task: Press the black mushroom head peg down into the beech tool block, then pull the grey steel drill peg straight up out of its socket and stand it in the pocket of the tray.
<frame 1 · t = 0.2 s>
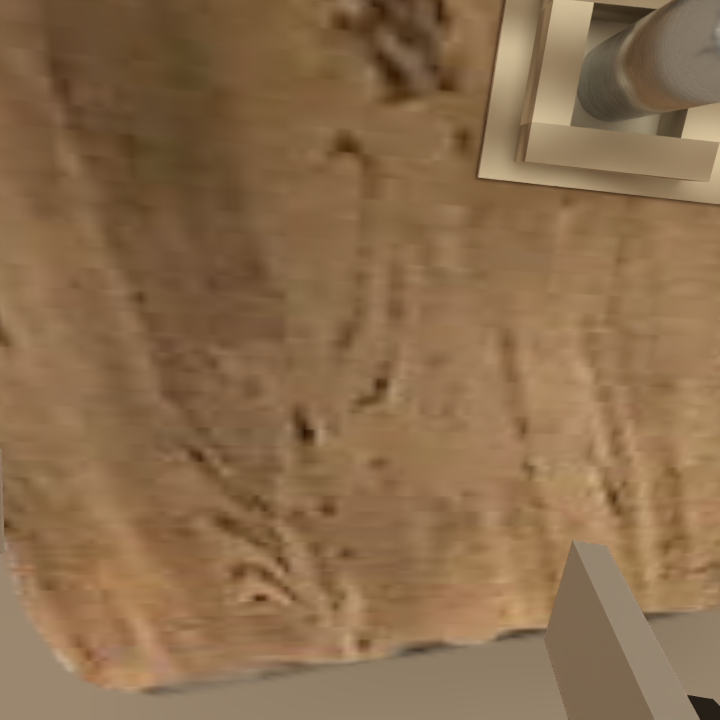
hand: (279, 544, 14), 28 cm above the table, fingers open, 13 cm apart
socket block: (670, 59, 36), on the table
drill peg: (616, 80, 35), point 1 cm above the table, touching socket block
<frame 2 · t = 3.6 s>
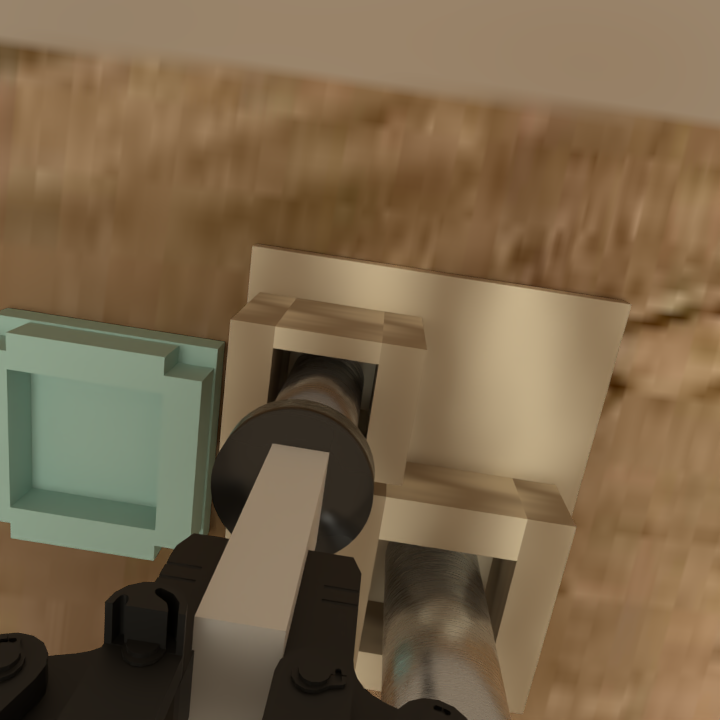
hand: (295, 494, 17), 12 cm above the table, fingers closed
socket block: (410, 491, 30), on the table
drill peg: (430, 558, 30), point 1 cm above the table, touching socket block
tray: (113, 425, 30), on the table
black mushroom head peg: (313, 424, 21), point 8 cm above the table, slide at 0.9 cm, touching gripper
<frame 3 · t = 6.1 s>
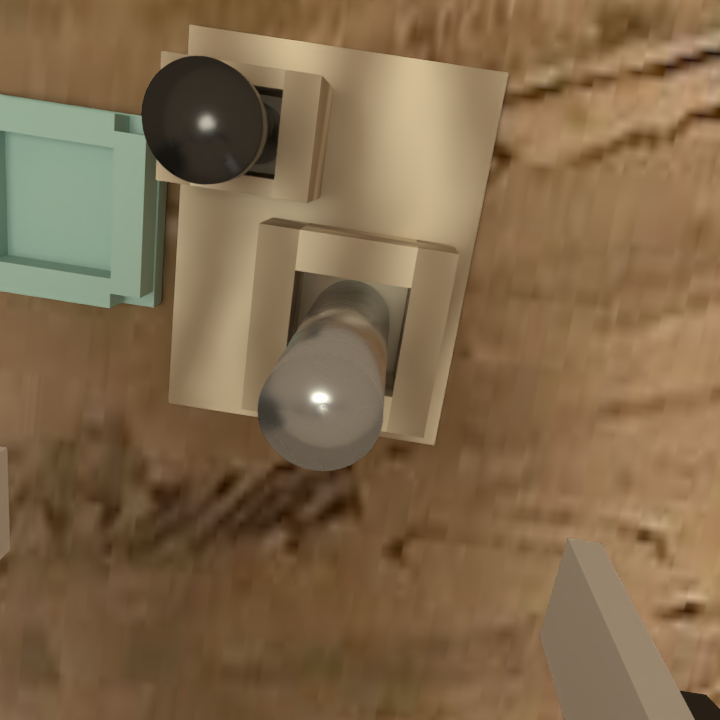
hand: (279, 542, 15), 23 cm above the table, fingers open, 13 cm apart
socket block: (332, 259, 35), on the table
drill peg: (350, 319, 35), point 1 cm above the table, touching socket block
tray: (77, 202, 35), on the table
black mushroom head peg: (232, 128, 27), point 6 cm above the table, slide at 2.0 cm
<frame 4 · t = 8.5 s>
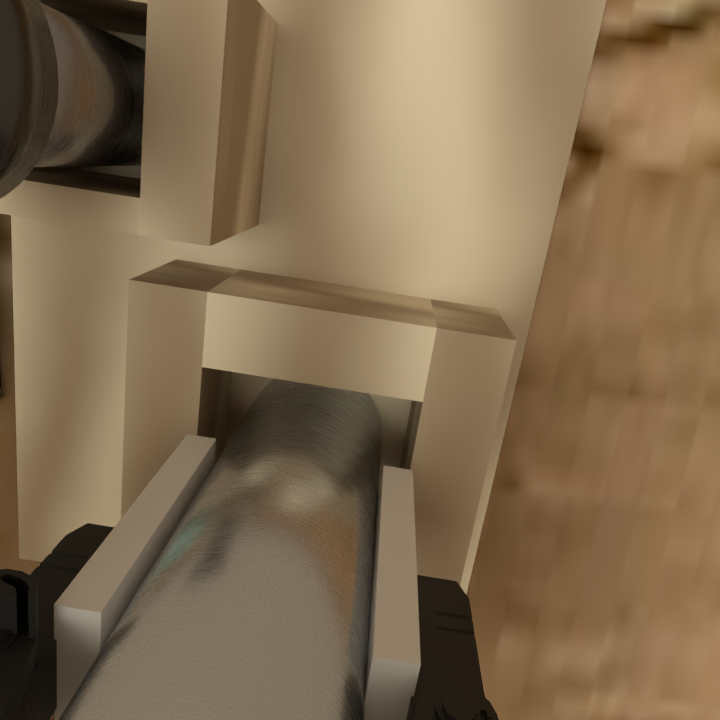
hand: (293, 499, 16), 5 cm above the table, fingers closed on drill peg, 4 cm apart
socket block: (284, 329, 20), on the table
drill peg: (314, 431, 21), point 1 cm above the table, touching gripper, socket block
black mushroom head peg: (38, 88, 13), point 6 cm above the table, slide at 2.0 cm
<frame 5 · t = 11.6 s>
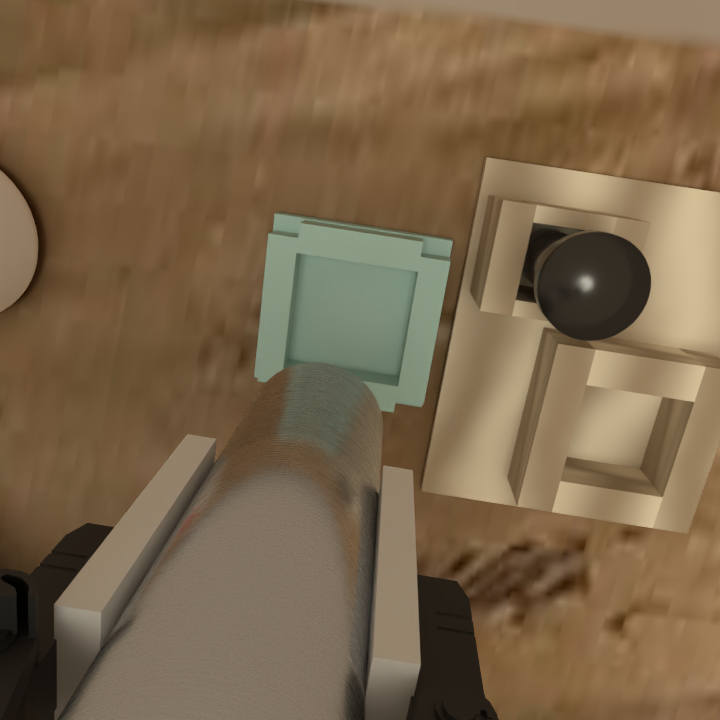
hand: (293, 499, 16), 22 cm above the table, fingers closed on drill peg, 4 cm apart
socket block: (589, 363, 38), on the table
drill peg: (316, 425, 21), point 18 cm above the table, touching gripper
tray: (352, 309, 38), on the table
black mushroom head peg: (566, 269, 30), point 6 cm above the table, slide at 2.0 cm
when the fingers open (7 cm above the table, at t = 14.6 s): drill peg stays where it is, resting on tray.
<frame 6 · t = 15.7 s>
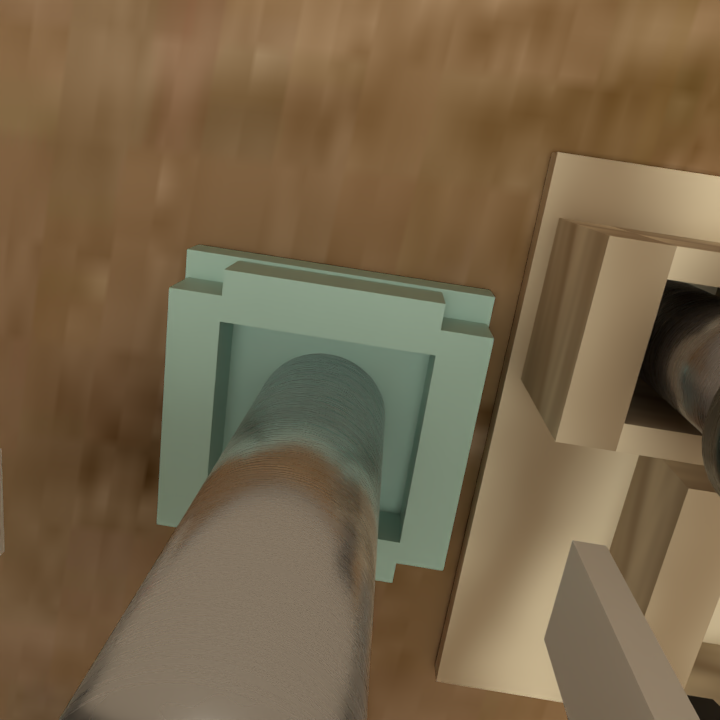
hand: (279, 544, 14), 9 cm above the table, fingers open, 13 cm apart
socket block: (714, 490, 23), on the table
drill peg: (321, 414, 22), point 1 cm above the table, touching tray
tray: (325, 403, 23), on the table
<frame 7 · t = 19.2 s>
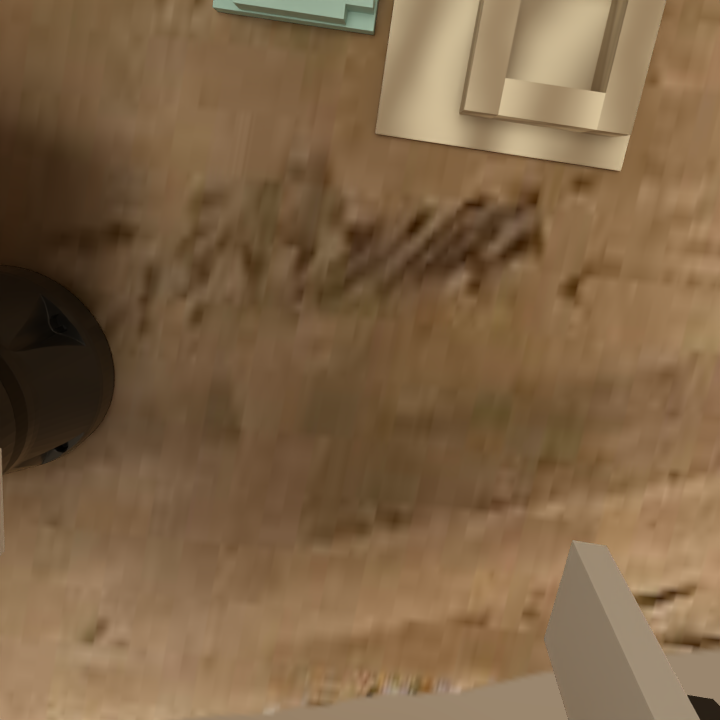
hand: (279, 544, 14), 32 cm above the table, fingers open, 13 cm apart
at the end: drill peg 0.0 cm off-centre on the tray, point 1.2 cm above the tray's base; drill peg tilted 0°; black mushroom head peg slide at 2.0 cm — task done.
